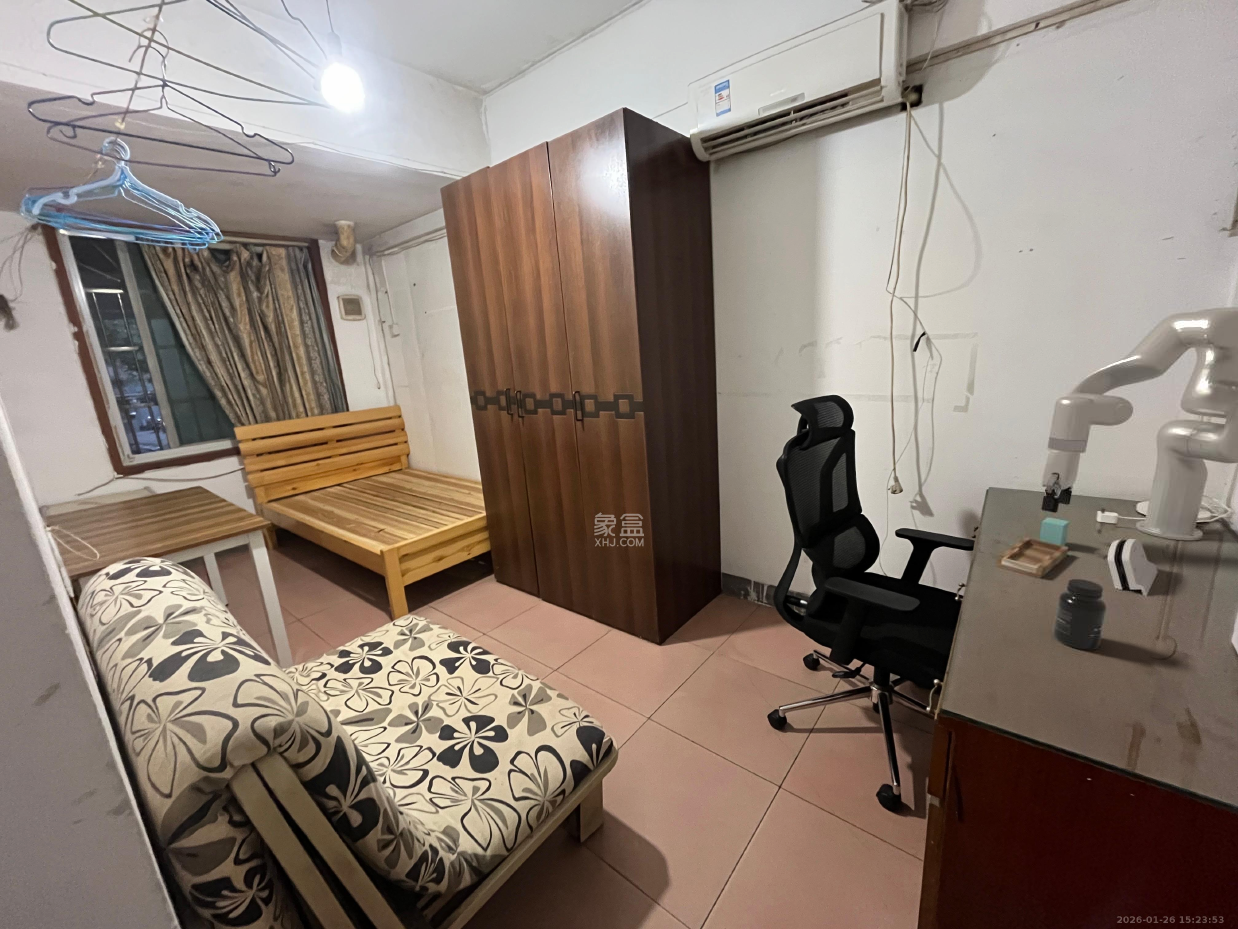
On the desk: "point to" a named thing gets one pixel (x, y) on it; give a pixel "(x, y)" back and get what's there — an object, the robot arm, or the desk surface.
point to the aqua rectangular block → (1054, 531)
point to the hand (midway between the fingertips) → (1055, 507)
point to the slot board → (1032, 557)
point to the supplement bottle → (1080, 615)
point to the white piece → (1130, 565)
